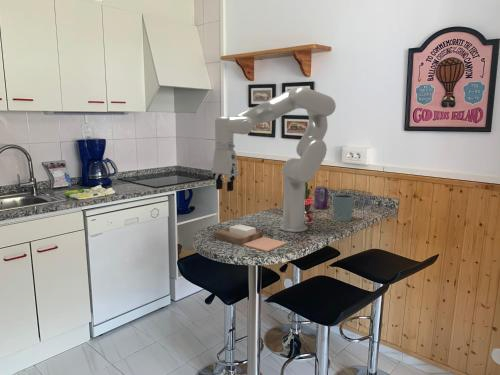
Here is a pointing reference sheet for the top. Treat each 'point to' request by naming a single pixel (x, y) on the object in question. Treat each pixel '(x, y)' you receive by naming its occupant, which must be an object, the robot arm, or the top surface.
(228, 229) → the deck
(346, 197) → the grey-blue bin
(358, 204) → the top surface
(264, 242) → the mat
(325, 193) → the beverage can
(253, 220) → the top surface
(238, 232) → the tile
